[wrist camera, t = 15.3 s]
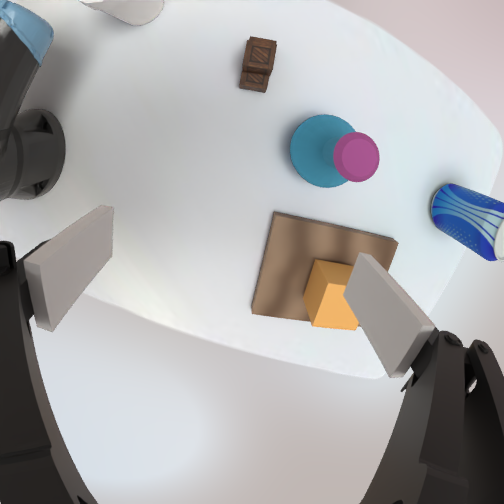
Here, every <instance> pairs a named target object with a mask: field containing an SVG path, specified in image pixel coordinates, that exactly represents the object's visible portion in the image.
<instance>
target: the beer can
mask: <svg viewBox="0 0 504 504" xmlns="http://www.w3.org/2000/svg"><path fill="white" fill-rule="evenodd" d="M431 214H432V219H433V222H434V224H435V226H436V227H437V228H438V229H439V230H441V231H442V232H444V233H446V234H447V235H449V236H451V237H452V238H454V239H455V240H457V241H459V242H460V243H462V244H463V245H465V246H466V247H468V248H470V249H471V250H473V251H474V252H476V253H477V254H479V255H480V256H482V257H483V258H484V259H486V260H488V261H495V260H499V261H504V203H503V202H500V201H498V200H495V199H493V198H490V197H488V196H485V195H483V194H480V193H478V192H475V191H472V190H470V189H467V188H464V187H461V186H458V185H455V184H447V185H445V186H443V187H442V188H440V189H439V190H438V191H437V192H436V194H435V195H434V197H433V199H432V203H431Z"/></svg>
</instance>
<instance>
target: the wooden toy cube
mask: <svg viewBox="0 0 504 504" xmlns="http://www.w3.org/2000/svg"><path fill="white" fill-rule="evenodd" d="M353 268H354V266H350V265H345V264H339V263H334V262H328V261H323V260H317V259H315V262H314V265H313V268H312V271H311V274H310V277H309V281H308V284H307V287H306V290H305V293H304V296H303V300H304V303H305V306H306V309H307V312H308V315H309V318H310V321H311V324H312V326H314V327H324V328H334V329H345V330H356V328H357V326H358V324H359V322H358V320H357V318H356V317H355V315H354V313H353V311H352V310H351V308H350V306H349V305H348V303H347V301H346V300H345V298H344V296H343V293H344V291H345V288H346V286H347V283H348V281H349V278H350V276H351V273H352V271H353Z"/></svg>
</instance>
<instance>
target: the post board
mask: <svg viewBox="0 0 504 504" xmlns="http://www.w3.org/2000/svg"><path fill="white" fill-rule="evenodd" d="M397 246H398V242H397V241H395V240H394V239H393V238H389V237H385V236H381V235H377V234H373V233H369V232H365V231H360V230H356V229H352V228H347V227H343V226H339V225H334V224H330V223H325V222H321V221H316V220H312V219H307V218H302V217H298V216H293V215H288V214H283V213H278V212H274V214H273V219H272V223H271V227H270V232H269V236H268V240H267V244H266V248H265V253H264V257H263V261H262V265H261V269H260V274H259V278H258V282H257V286H256V290H255V294H254V298H253V302H252V307H251V308H252V314H256V315H263V316H271V317H278V318H285V319H293V320H301V321H310V318H309V315H308V312H307V309H306V306H305V303H304V300H303V296H304V293H305V290H306V287H307V284H308V281H309V277H310V274H311V271H312V268H313V265H314V262H315V259H317V260H323V261H328V262H334V263H339V264H345V265H350V266H354V265H355V263H356V260H357V257H358V255H359V252H360V253H365V254H370V255H372V257H373V258H374V259H375V260H376V261H377V262H378V263H379V264H380V265H381V266H382V267H383V268H384V269H385V270H386V271H387V272H388V270H389V267H390V265H391V262H392V260H393V257H394V254H395V251H396V249H397ZM310 322H311V321H310ZM358 326H360V327H361V325H360V323H359V324H358Z"/></svg>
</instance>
